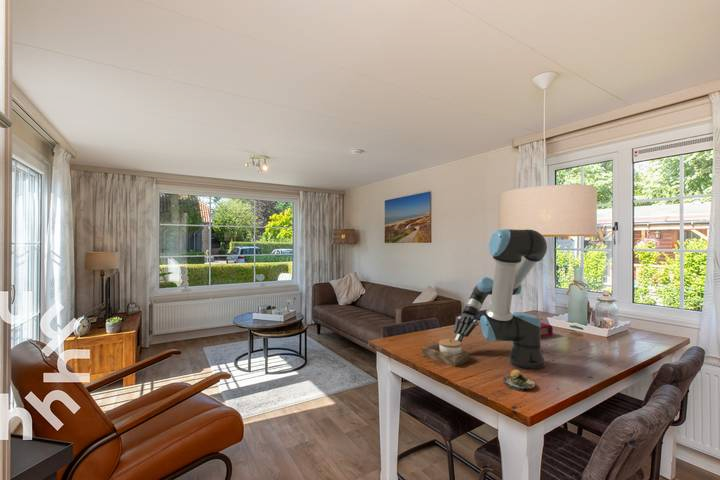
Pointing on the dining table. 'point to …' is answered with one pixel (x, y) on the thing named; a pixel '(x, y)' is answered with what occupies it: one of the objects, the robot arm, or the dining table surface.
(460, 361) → the u-shaped bracket
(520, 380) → the plate of food
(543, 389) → the dining table surface
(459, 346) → the lidded jar
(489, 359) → the dining table surface
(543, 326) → the book
